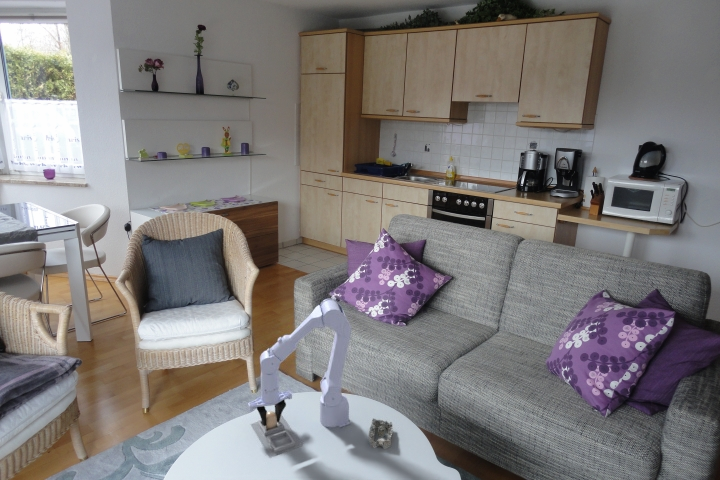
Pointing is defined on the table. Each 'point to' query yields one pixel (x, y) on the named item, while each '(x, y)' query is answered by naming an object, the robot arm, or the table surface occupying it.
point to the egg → (271, 420)
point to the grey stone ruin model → (380, 433)
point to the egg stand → (276, 437)
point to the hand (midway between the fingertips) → (270, 422)
